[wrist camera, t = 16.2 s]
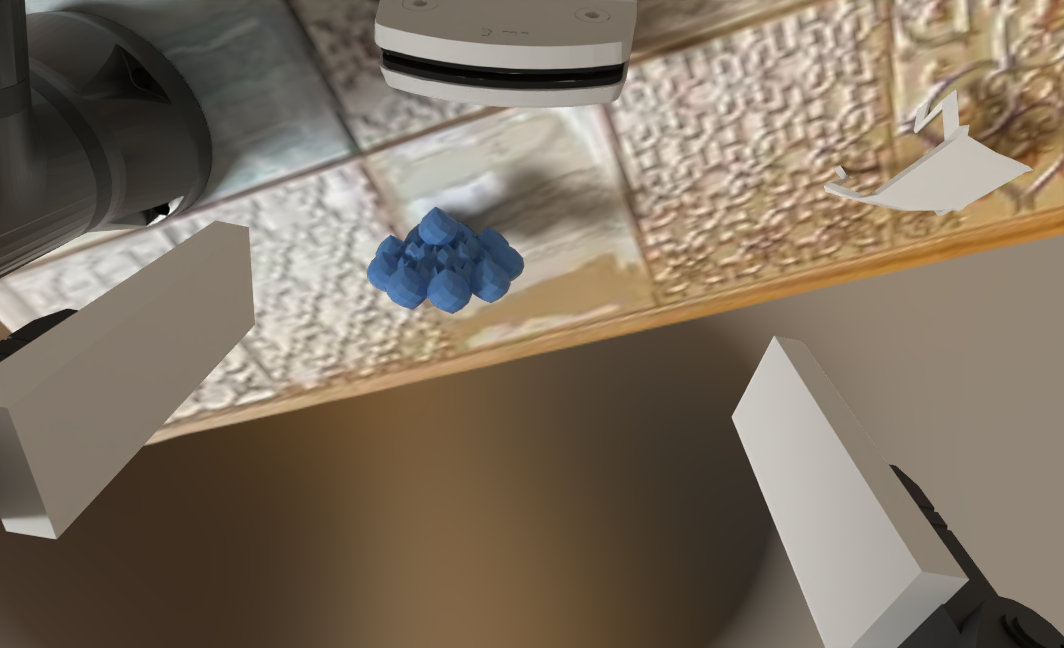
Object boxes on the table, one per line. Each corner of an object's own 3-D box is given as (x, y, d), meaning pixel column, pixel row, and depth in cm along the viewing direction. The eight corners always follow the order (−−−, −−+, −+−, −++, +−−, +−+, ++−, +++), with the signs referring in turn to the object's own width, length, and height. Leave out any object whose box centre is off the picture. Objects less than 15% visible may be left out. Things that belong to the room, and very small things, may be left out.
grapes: (524, 178, 43) (513, 235, 33) (530, 257, 46) (522, 333, 36) (378, 185, 44) (322, 244, 33) (395, 263, 47) (348, 338, 37)
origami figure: (981, 61, 38) (1034, 70, 33) (994, 171, 41) (1043, 191, 37) (802, 145, 41) (830, 163, 37) (828, 239, 44) (857, 265, 40)
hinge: (642, -33, 36) (654, 36, 29) (629, 42, 39) (638, 118, 33) (384, -50, 36) (341, 15, 29) (395, 26, 39) (359, 99, 33)
